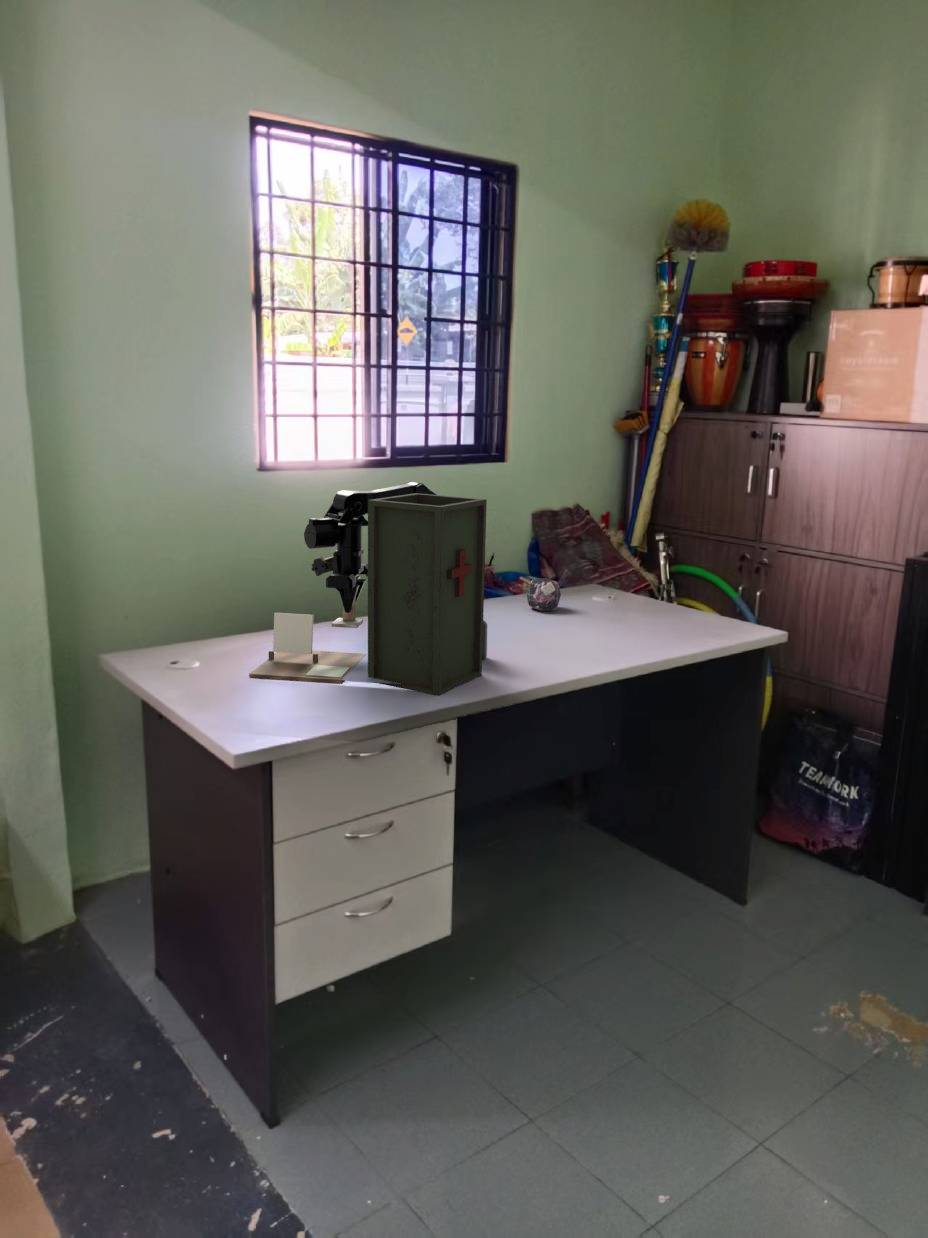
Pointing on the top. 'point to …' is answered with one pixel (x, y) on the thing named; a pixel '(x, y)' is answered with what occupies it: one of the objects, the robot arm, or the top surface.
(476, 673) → the first aid box
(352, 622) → the stamp
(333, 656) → the board
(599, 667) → the top surface
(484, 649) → the supplement bottle
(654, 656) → the top surface
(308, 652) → the tile
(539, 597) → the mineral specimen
